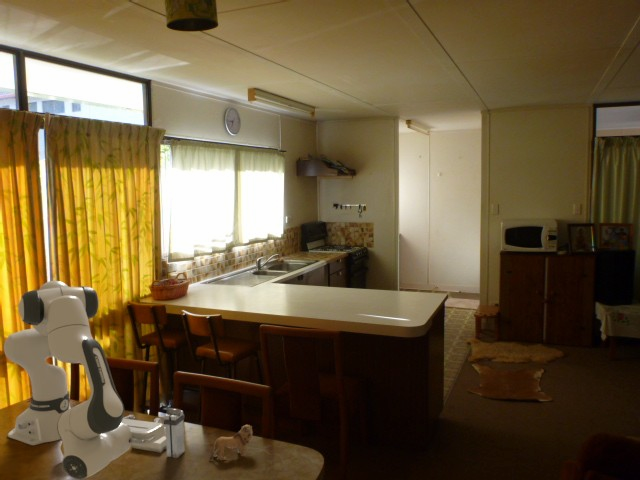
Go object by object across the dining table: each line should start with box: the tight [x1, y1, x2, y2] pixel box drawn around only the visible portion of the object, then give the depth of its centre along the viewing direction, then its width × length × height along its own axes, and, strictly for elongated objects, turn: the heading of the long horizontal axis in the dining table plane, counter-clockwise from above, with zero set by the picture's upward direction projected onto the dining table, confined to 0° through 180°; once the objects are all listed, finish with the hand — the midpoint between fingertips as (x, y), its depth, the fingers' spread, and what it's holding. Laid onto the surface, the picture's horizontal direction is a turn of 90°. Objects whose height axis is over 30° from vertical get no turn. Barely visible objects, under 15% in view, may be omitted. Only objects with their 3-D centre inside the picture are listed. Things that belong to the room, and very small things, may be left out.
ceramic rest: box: [131, 426, 167, 453], centre depth 180 cm, size 11×11×3 cm
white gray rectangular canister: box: [163, 407, 186, 459], centre depth 172 cm, size 4×5×15 cm
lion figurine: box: [208, 424, 254, 461], centre depth 170 cm, size 15×5×9 cm, turn 117°
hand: (146, 418), depth 161 cm, fingers open, 8 cm apart
